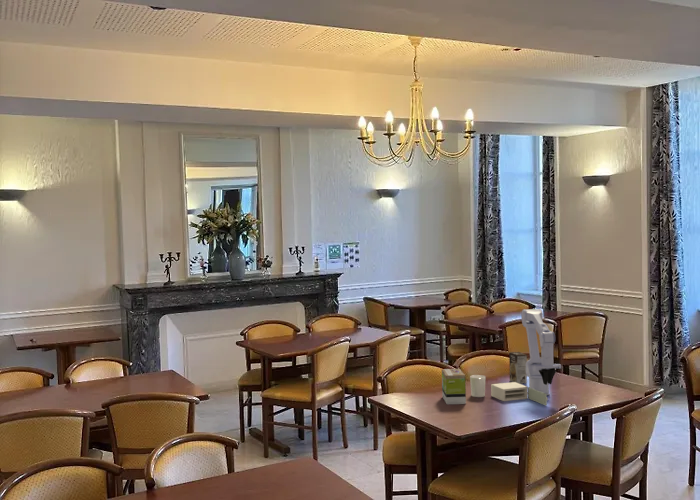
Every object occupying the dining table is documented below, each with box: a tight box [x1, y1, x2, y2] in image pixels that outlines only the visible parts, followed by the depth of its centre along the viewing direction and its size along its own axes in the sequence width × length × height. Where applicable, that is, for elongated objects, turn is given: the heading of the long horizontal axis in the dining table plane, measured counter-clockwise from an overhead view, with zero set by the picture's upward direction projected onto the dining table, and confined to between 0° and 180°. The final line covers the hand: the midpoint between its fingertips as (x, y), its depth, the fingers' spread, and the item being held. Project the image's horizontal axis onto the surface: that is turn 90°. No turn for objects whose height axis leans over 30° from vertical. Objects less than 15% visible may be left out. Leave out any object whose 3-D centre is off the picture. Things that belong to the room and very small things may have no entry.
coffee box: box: [509, 351, 528, 385], centre depth 381 cm, size 9×6×16 cm
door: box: [527, 386, 549, 406], centre depth 337 cm, size 15×2×6 cm, turn 19°
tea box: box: [441, 368, 467, 405], centre depth 343 cm, size 15×10×15 cm, turn 1°
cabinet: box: [490, 381, 529, 402], centre depth 347 cm, size 14×12×6 cm
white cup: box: [469, 374, 487, 398], centre depth 352 cm, size 8×8×10 cm
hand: (547, 383), depth 335 cm, fingers closed
